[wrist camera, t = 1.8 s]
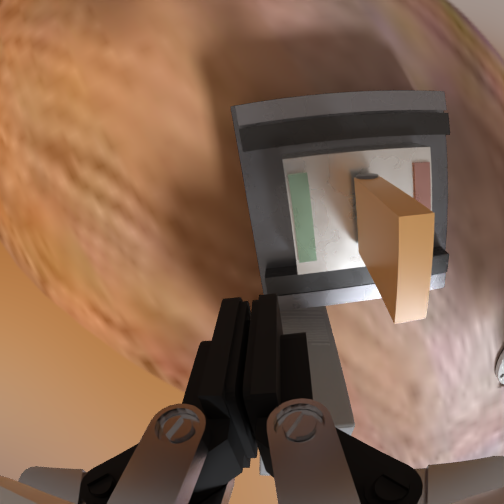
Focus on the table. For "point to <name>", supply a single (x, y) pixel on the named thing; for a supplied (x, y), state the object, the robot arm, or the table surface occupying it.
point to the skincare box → (321, 364)
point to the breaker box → (336, 184)
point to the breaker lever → (395, 245)
